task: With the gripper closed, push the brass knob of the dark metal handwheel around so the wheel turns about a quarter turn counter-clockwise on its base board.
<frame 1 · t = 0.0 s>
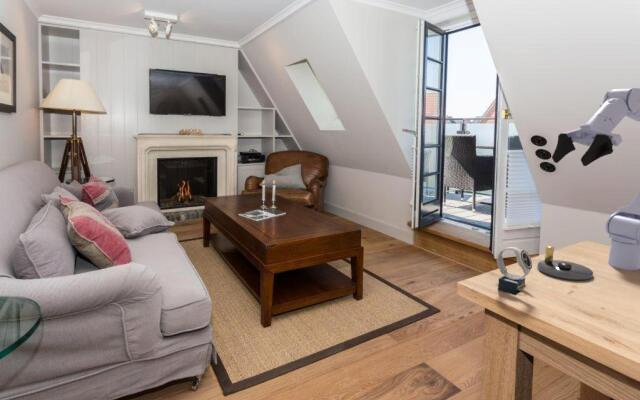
hand: (568, 161, 100), 32 cm above the table, tool tilted 50°, fingers open, 7 cm apart
base board: (563, 276, 112), on the table
handwheel: (565, 262, 111), point 4 cm above the table, hinge at 0.0°
watch: (511, 290, 104), on the table
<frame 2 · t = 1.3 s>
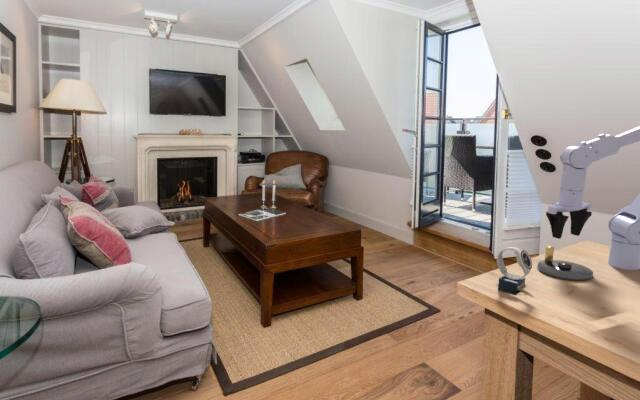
hand: (565, 236, 117), 9 cm above the table, tool pointing down, fingers open, 7 cm apart
nothing on the table moved.
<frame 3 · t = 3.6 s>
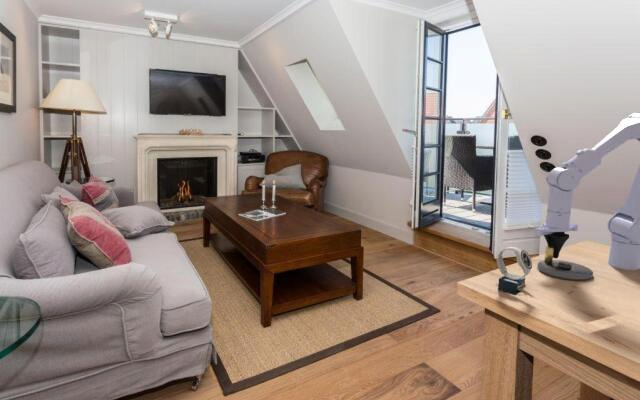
hand: (553, 257, 117), 4 cm above the table, tool pointing down, fingers closed, pressing on handwheel
handwheel: (565, 262, 111), point 4 cm above the table, hinge at 0.7°, touching gripper
everything else where it was.
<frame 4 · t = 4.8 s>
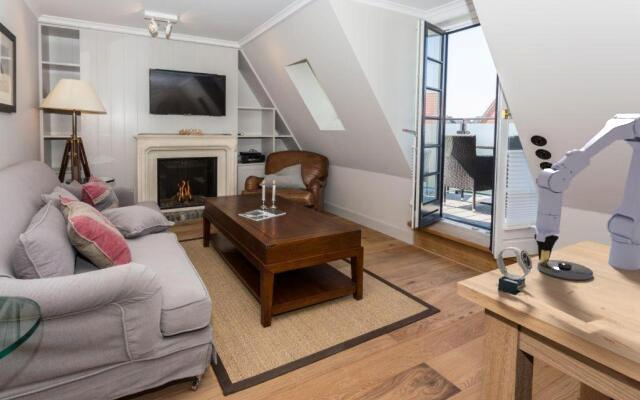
hand: (543, 260, 114), 4 cm above the table, tool pointing down, fingers closed, pressing on handwheel
handwheel: (565, 262, 111), point 4 cm above the table, hinge at 47.4°, touching gripper
everything else where it was.
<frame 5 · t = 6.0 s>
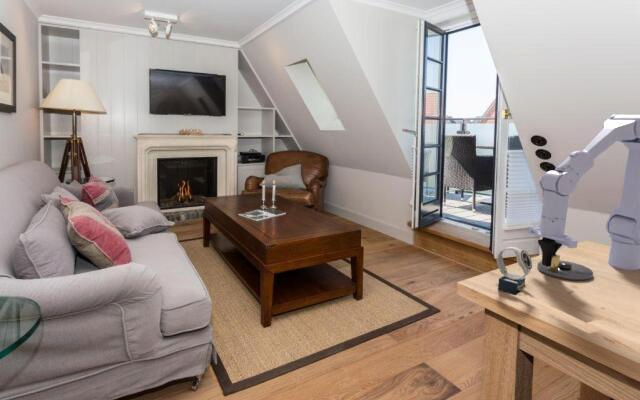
hand: (547, 265, 110), 4 cm above the table, tool pointing down, fingers closed, pressing on handwheel
handwheel: (565, 262, 111), point 4 cm above the table, hinge at 97.5°, touching gripper
everything else where it was.
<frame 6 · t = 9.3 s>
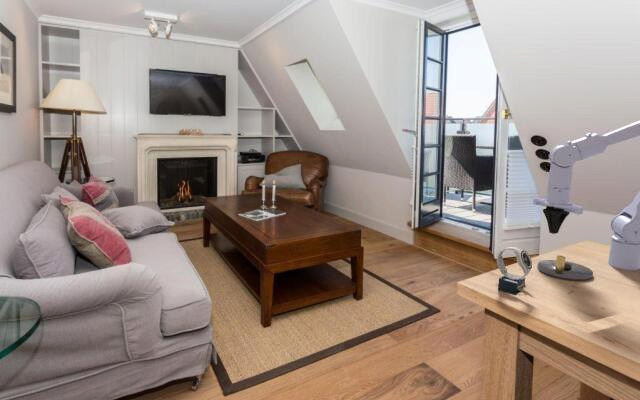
hand: (553, 232, 120), 9 cm above the table, tool pointing down, fingers closed
handwheel: (565, 262, 111), point 4 cm above the table, hinge at 113.3°
everything else where it was.
at the end: handwheel at +113° (first picture: +0°); watch moved 0.2 cm from its start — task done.
